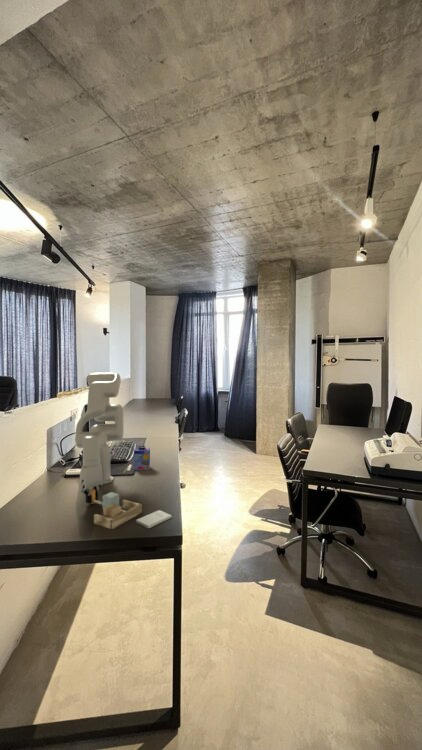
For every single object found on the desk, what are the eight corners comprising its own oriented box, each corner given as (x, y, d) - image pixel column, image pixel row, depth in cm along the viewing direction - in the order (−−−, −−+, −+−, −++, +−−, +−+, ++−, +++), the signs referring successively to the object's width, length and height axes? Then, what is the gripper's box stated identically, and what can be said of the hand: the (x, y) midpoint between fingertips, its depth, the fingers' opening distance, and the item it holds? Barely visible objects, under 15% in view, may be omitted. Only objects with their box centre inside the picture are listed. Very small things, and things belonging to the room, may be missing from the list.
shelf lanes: (94, 523, 135) (93, 514, 134) (124, 507, 150) (124, 499, 150) (112, 529, 130) (112, 520, 130) (141, 512, 145) (141, 504, 145)
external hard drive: (135, 523, 136) (159, 513, 145) (148, 529, 131) (171, 518, 140) (135, 519, 136) (159, 509, 145) (148, 525, 130) (171, 515, 140)
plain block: (103, 523, 135) (103, 508, 135) (112, 518, 139) (112, 504, 139) (112, 526, 133) (112, 511, 132) (121, 520, 137) (121, 506, 137)
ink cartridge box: (133, 470, 202) (133, 447, 201) (133, 467, 207) (133, 444, 207) (150, 469, 204) (150, 446, 204) (149, 466, 210) (149, 443, 209)
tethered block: (85, 504, 152) (85, 491, 152) (93, 500, 156) (93, 487, 156) (110, 511, 144) (110, 498, 144) (119, 507, 148) (119, 494, 148)
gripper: (99, 456, 162) (99, 493, 162) (71, 465, 147) (71, 506, 148) (110, 459, 158) (111, 496, 159) (82, 468, 144) (83, 510, 144)
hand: (91, 501), depth 153 cm, fingers closed on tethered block, 3 cm apart
